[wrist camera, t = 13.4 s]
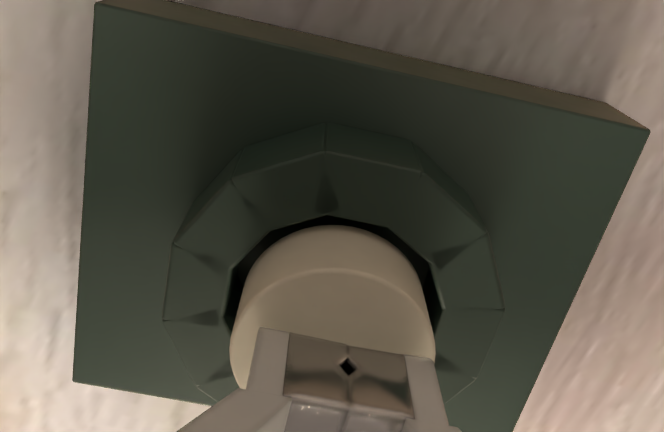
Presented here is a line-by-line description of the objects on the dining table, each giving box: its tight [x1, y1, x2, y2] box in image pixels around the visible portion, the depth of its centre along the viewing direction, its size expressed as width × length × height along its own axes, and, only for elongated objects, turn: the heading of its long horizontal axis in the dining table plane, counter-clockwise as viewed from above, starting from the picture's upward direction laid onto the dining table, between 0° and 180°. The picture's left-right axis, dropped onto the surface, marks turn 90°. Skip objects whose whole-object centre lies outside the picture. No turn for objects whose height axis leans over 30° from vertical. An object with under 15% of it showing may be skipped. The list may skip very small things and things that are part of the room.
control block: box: [73, 0, 650, 432], centre depth 14 cm, size 11×9×4 cm
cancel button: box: [229, 225, 436, 389], centre depth 11 cm, size 4×4×2 cm
